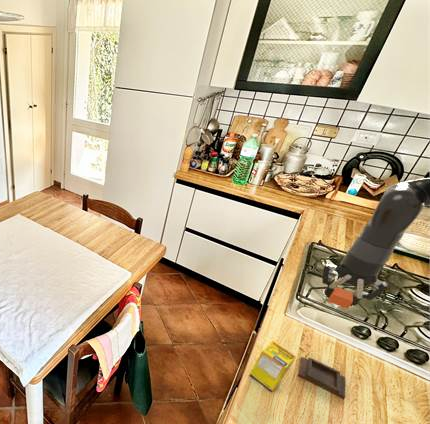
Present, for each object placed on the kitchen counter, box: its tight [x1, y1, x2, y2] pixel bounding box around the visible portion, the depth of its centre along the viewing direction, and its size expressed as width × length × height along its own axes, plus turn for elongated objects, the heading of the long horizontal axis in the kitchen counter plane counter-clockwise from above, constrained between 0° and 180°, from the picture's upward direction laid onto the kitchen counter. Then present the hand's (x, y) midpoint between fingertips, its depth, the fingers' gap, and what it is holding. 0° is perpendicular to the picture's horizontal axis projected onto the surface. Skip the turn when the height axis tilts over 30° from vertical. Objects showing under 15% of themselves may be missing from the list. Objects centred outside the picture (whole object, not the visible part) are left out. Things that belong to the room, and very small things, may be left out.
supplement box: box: [249, 340, 297, 393], centre depth 82 cm, size 6×6×11 cm
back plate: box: [297, 356, 346, 400], centre depth 85 cm, size 10×7×2 cm
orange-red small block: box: [327, 286, 354, 310], centre depth 89 cm, size 5×5×3 cm
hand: (338, 300), depth 90 cm, fingers closed on orange-red small block, 4 cm apart
